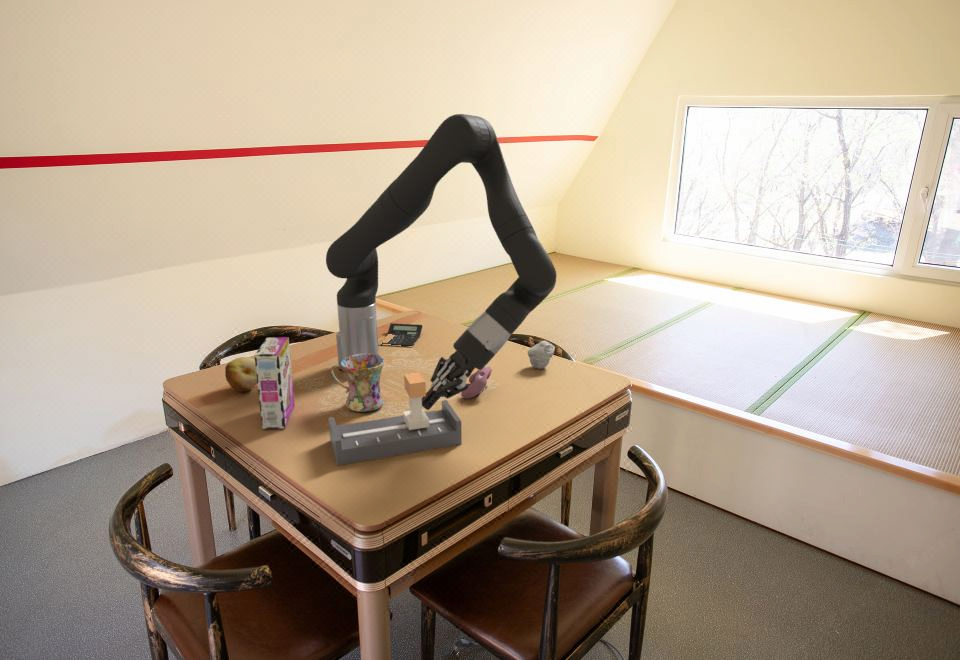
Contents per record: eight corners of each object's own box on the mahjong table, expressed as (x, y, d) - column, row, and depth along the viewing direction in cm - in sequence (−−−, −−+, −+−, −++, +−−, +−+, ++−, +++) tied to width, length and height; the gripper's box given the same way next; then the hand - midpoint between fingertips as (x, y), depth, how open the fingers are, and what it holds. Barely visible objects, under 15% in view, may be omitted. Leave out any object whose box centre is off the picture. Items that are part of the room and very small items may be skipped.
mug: (391, 398, 148) (389, 354, 145) (379, 416, 139) (376, 370, 136) (341, 395, 150) (337, 351, 146) (325, 412, 141) (321, 367, 138)
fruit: (225, 398, 148) (221, 365, 145) (231, 384, 156) (226, 352, 153) (260, 395, 149) (256, 363, 147) (264, 381, 157) (260, 350, 154)
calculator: (379, 346, 181) (378, 336, 180) (391, 332, 192) (391, 322, 191) (412, 348, 179) (411, 337, 178) (422, 334, 190) (422, 324, 189)
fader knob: (422, 415, 132) (421, 371, 129) (429, 426, 127) (428, 381, 124) (403, 418, 131) (401, 374, 127) (409, 430, 126) (407, 384, 123)
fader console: (446, 421, 137) (446, 400, 135) (461, 443, 128) (461, 421, 126) (330, 440, 129) (328, 417, 128) (337, 465, 121) (335, 441, 119)
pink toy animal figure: (476, 406, 147) (490, 382, 145) (458, 397, 147) (472, 372, 145) (484, 389, 157) (497, 365, 154) (468, 380, 157) (480, 356, 154)
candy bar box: (286, 429, 134) (278, 354, 129) (261, 430, 133) (252, 355, 128) (296, 405, 144) (289, 335, 139) (273, 406, 144) (265, 336, 139)
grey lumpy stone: (557, 371, 163) (558, 344, 161) (531, 373, 161) (531, 347, 159) (549, 362, 169) (550, 336, 166) (523, 364, 167) (524, 339, 165)
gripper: (458, 319, 132) (401, 383, 133) (480, 340, 121) (418, 410, 121) (483, 340, 136) (427, 402, 136) (507, 363, 124) (446, 431, 124)
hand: (423, 406), depth 128 cm, fingers closed
